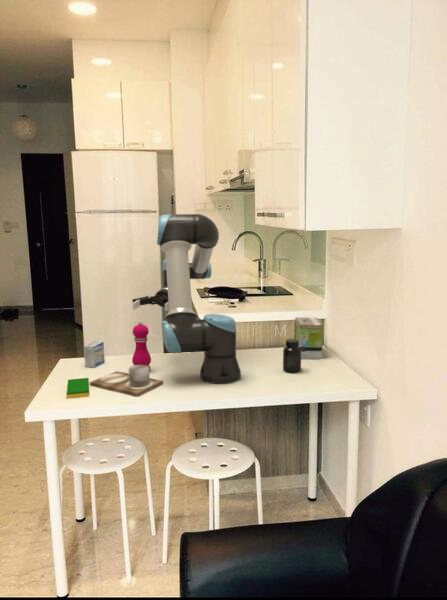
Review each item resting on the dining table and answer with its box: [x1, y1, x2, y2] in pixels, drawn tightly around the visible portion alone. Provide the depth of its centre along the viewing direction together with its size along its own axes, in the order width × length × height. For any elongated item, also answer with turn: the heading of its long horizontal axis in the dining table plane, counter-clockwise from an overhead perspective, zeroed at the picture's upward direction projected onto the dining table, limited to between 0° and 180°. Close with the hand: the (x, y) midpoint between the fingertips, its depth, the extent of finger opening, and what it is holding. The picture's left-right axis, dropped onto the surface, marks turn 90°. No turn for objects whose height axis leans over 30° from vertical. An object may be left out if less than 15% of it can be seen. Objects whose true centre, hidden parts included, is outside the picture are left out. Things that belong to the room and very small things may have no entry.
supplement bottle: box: [282, 338, 302, 374], centre depth 194 cm, size 7×7×12 cm
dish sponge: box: [66, 377, 90, 399], centre depth 176 cm, size 7×14×2 cm, turn 15°
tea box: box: [294, 316, 324, 360], centre depth 215 cm, size 15×10×15 cm
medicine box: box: [83, 340, 105, 368], centre depth 204 cm, size 8×4×9 cm, turn 162°
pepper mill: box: [131, 320, 152, 373], centre depth 194 cm, size 7×7×20 cm
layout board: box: [89, 365, 164, 398], centre depth 180 cm, size 22×14×7 cm, turn 59°
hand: (149, 306), depth 204 cm, fingers open, 13 cm apart
